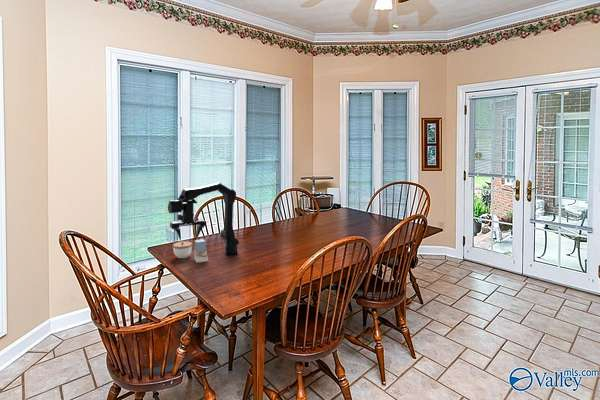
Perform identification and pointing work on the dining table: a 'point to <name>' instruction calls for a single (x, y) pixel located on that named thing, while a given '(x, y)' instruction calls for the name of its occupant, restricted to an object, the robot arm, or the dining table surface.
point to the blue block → (200, 245)
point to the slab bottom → (200, 259)
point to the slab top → (200, 254)
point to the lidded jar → (182, 249)
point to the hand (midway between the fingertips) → (188, 239)
